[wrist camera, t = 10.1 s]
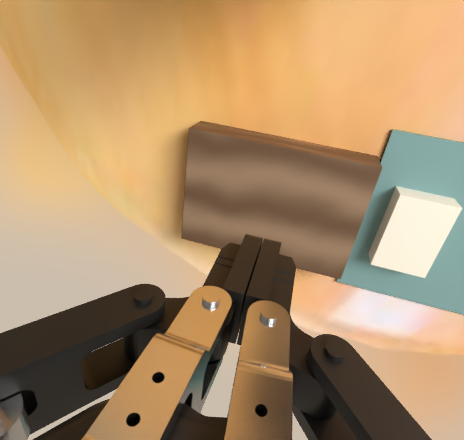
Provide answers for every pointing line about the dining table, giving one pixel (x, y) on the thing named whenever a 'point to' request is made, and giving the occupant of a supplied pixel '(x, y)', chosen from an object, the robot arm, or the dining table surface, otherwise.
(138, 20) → the dining table surface
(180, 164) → the dining table surface
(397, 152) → the mat
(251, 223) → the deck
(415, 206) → the tile
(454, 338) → the dining table surface
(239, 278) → the robot arm
